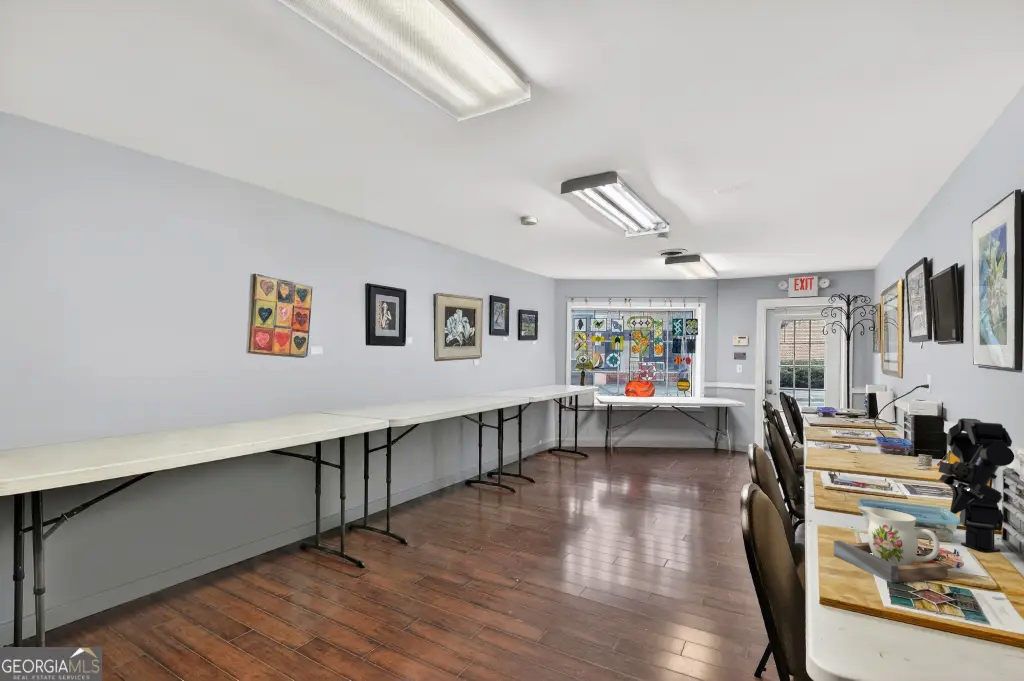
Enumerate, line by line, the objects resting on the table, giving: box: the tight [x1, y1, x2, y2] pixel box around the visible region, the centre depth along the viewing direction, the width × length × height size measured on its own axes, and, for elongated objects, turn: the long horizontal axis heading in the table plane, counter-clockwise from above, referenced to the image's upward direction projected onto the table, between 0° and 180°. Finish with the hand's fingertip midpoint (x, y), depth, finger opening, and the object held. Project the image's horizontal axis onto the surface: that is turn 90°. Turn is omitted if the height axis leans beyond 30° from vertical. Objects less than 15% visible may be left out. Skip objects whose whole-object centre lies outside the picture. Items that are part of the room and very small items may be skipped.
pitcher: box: [857, 505, 941, 566], centre depth 143 cm, size 11×18×14 cm, turn 44°
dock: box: [833, 540, 949, 583], centre depth 142 cm, size 17×18×4 cm
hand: (952, 512), depth 150 cm, fingers closed
